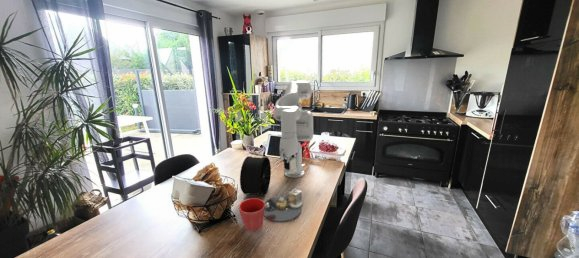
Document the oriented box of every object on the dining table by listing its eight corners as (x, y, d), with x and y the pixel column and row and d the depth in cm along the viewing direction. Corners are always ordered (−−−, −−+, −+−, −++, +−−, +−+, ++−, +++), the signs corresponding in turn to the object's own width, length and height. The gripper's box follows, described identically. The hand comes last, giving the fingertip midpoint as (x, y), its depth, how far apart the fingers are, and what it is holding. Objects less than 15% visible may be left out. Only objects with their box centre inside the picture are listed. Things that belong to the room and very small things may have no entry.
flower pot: (255, 237, 90) (253, 215, 88) (235, 227, 96) (233, 207, 94) (271, 222, 99) (270, 202, 97) (251, 214, 105) (250, 195, 102)
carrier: (280, 194, 121) (279, 180, 119) (309, 207, 109) (309, 191, 107) (253, 211, 107) (251, 195, 105) (283, 228, 95) (283, 210, 93)
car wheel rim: (260, 203, 113) (258, 166, 108) (241, 201, 115) (238, 164, 110) (271, 184, 132) (269, 151, 127) (255, 182, 134) (252, 150, 129)
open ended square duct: (289, 166, 124) (288, 155, 122) (299, 170, 120) (298, 158, 118) (281, 171, 119) (280, 159, 117) (291, 175, 115) (290, 162, 113)
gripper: (293, 128, 123) (294, 159, 128) (271, 137, 110) (273, 171, 115) (304, 131, 118) (305, 163, 123) (283, 140, 106) (285, 175, 111)
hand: (290, 166), depth 119 cm, fingers closed on open ended square duct, 4 cm apart
